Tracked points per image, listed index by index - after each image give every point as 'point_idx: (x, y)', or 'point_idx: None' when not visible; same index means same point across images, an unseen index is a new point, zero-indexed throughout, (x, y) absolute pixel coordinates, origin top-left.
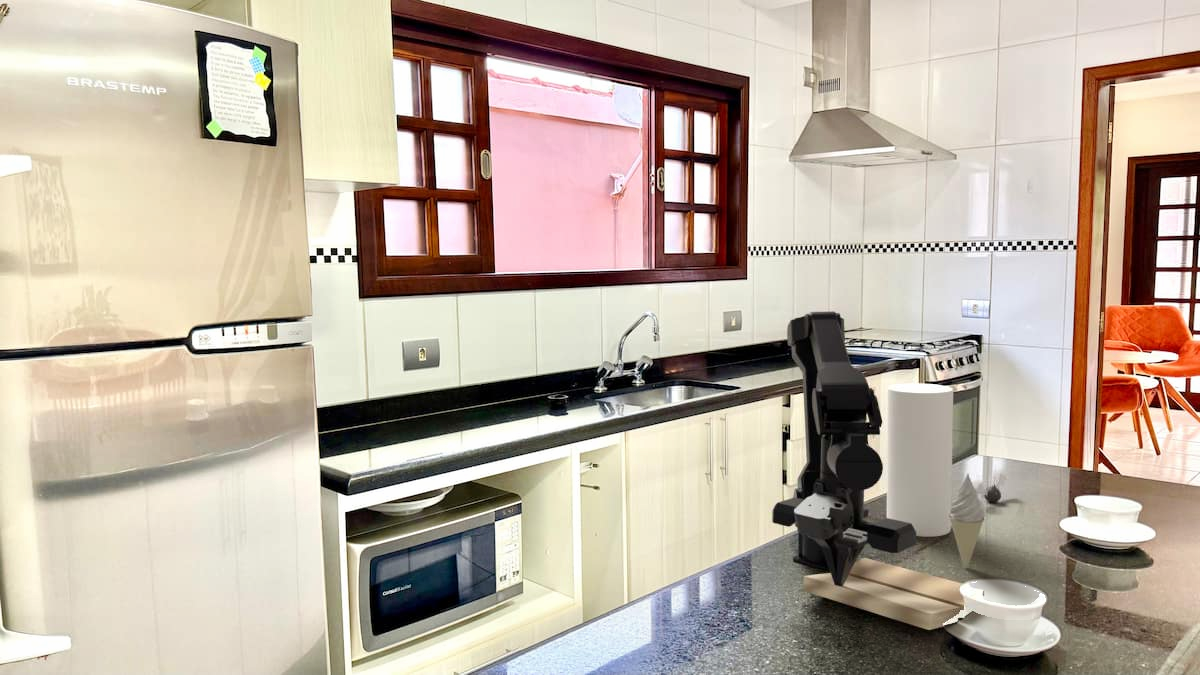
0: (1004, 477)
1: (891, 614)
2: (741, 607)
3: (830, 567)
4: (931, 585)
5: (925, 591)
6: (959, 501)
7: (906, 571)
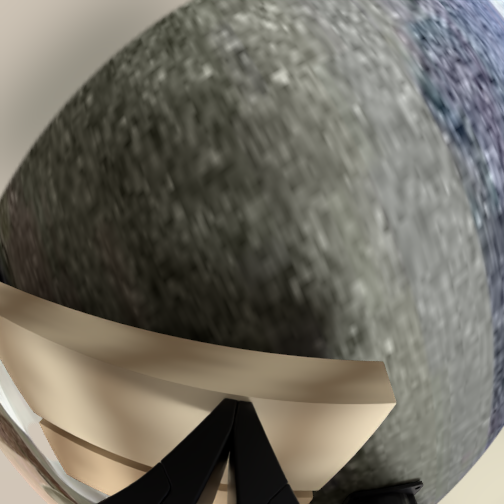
0: None
1: (51, 310)
2: (492, 213)
3: (263, 457)
4: (119, 484)
5: (107, 464)
6: None
7: None
